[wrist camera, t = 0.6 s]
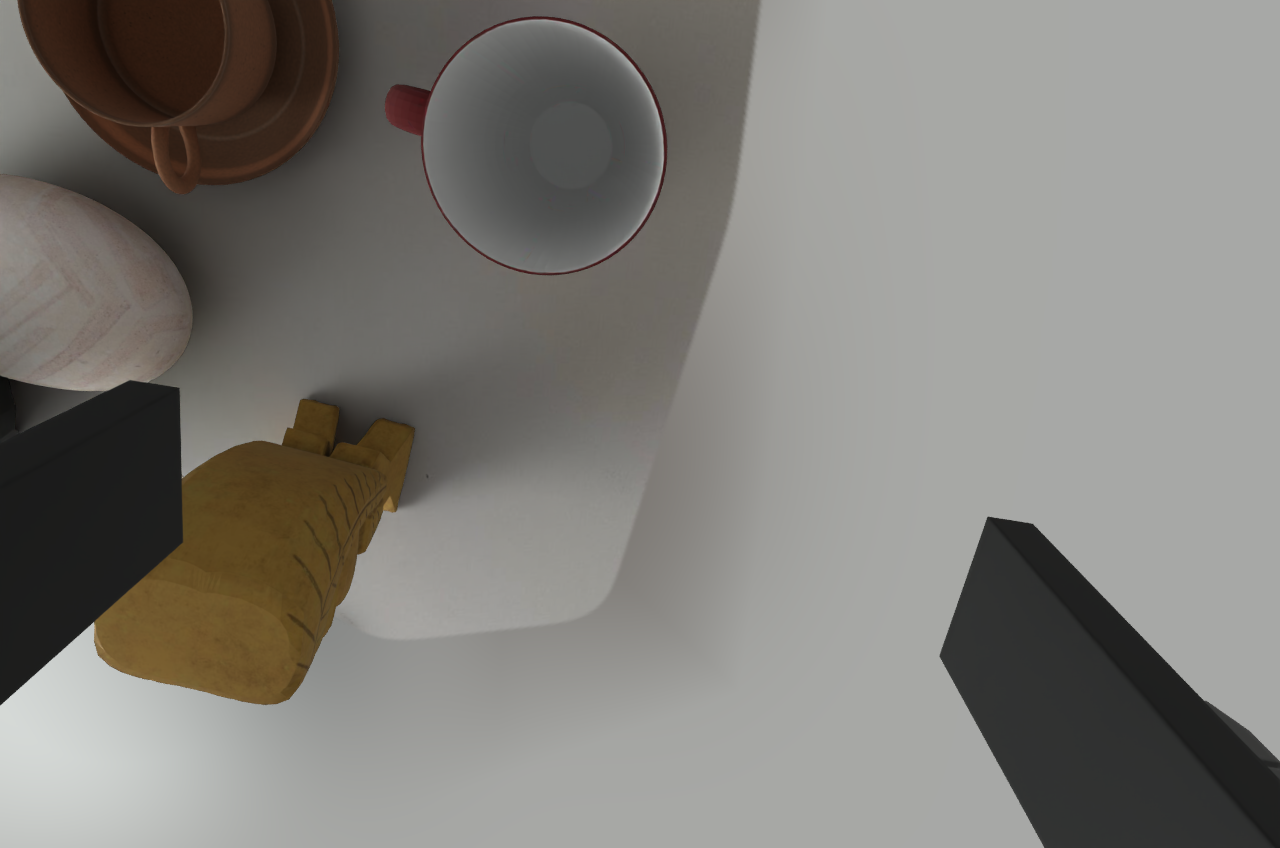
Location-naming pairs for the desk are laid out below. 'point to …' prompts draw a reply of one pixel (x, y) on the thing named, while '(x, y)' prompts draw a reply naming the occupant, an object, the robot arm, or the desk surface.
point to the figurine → (259, 560)
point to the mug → (539, 144)
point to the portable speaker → (6, 411)
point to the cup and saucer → (192, 79)
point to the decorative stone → (83, 293)
